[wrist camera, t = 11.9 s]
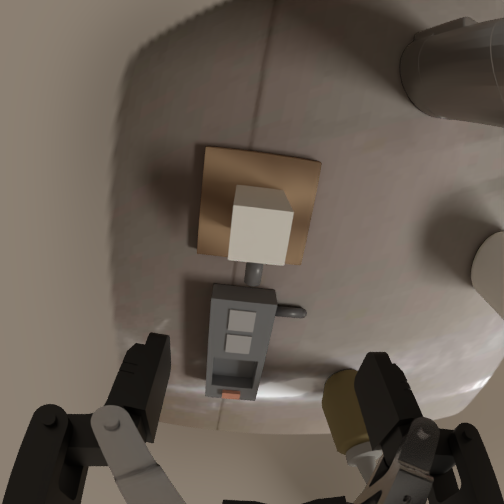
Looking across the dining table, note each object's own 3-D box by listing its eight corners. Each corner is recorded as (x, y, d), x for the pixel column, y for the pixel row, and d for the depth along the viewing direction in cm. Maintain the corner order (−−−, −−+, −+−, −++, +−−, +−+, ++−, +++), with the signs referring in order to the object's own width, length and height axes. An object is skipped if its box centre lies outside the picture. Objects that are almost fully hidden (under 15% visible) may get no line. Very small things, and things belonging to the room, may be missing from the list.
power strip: (213, 283, 34) (210, 301, 31) (310, 293, 35) (316, 311, 32) (207, 380, 41) (204, 399, 38) (282, 386, 42) (284, 405, 39)
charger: (236, 184, 28) (233, 205, 22) (283, 190, 29) (293, 212, 22) (229, 249, 31) (225, 285, 25) (273, 254, 32) (279, 290, 25)
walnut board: (207, 146, 28) (206, 146, 27) (319, 161, 28) (321, 163, 28) (198, 249, 32) (196, 253, 31) (299, 261, 33) (300, 265, 32)
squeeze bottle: (308, 393, 43) (326, 495, 27) (334, 359, 40) (365, 470, 24) (350, 399, 44) (375, 491, 28) (377, 367, 41) (415, 464, 25)
